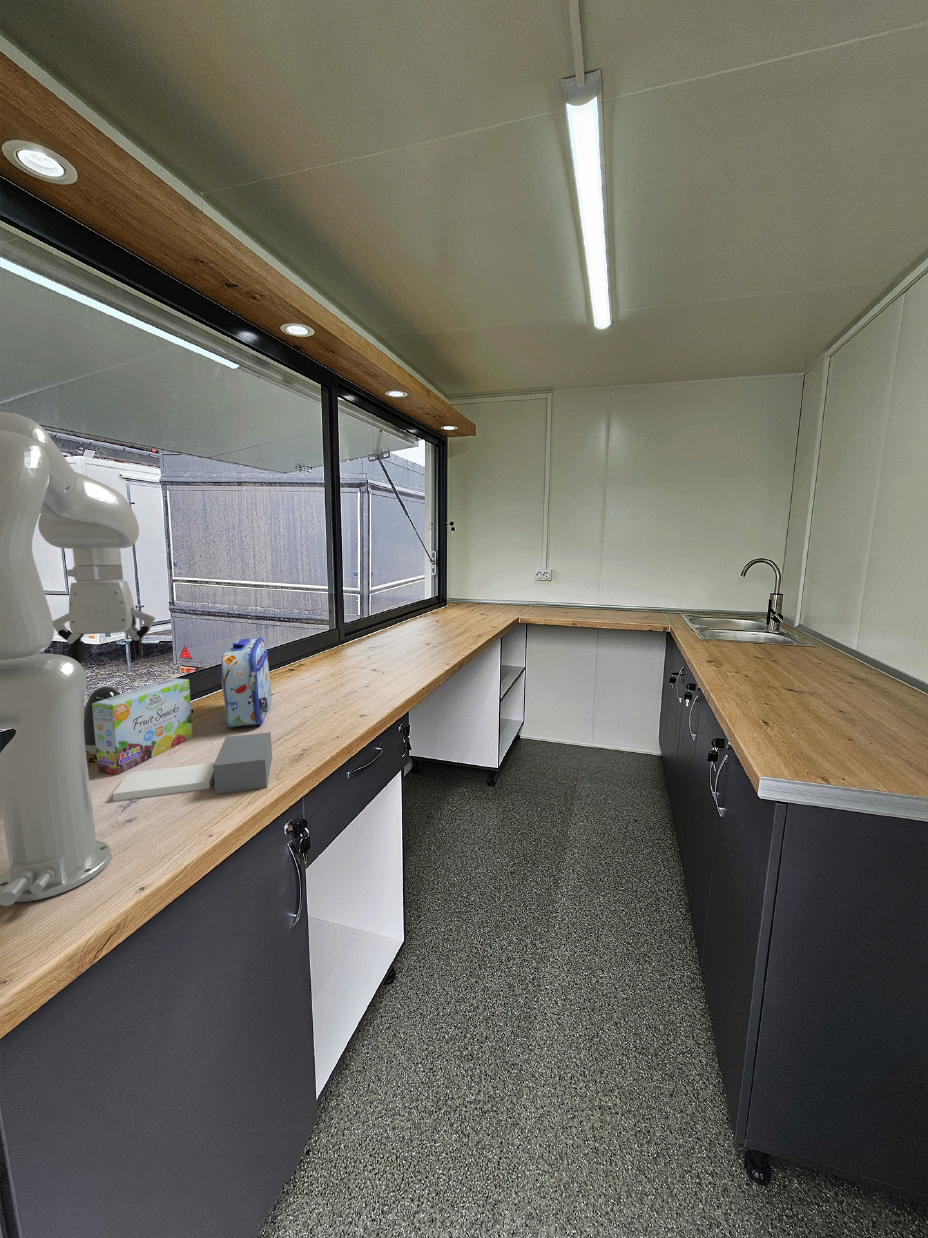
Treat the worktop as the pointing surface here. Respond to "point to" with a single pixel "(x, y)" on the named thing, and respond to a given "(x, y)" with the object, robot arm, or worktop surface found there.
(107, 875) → the worktop surface
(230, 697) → the lunch box
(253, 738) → the gray block
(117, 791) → the cutting board
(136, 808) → the worktop surface
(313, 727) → the worktop surface
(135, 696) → the snack box
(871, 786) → the worktop surface
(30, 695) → the robot arm
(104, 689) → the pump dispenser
